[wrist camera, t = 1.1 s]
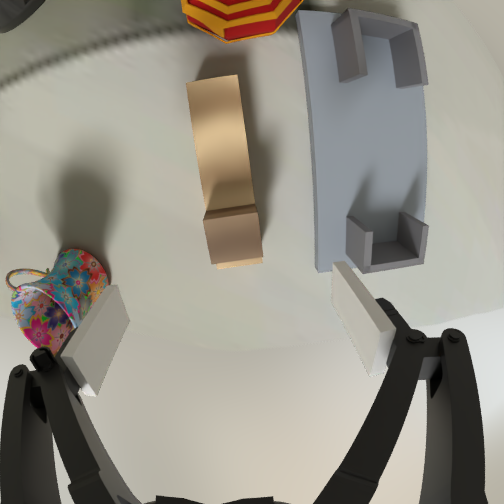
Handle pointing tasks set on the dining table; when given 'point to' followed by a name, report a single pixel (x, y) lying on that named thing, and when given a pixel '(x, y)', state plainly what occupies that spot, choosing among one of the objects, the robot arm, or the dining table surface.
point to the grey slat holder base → (366, 138)
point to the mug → (57, 298)
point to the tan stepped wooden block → (224, 172)
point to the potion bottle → (238, 17)
